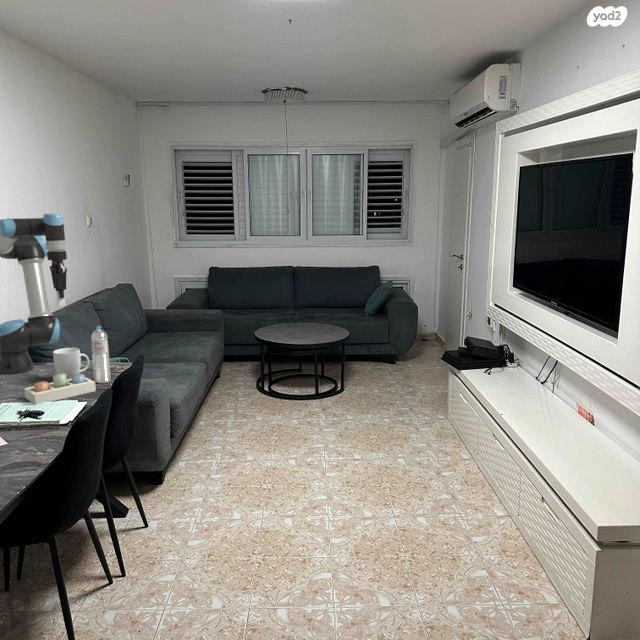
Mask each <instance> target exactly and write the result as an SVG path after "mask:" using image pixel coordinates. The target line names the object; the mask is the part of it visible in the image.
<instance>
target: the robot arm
mask: <svg viewBox="0 0 640 640" xmlns="http://www.w3.org/2000/svg"><path fill="white" fill-rule="evenodd" d="M43 237H45V238H43ZM66 250H67V245H66V234H65V221H64V216H63V214H62V213H44V214H43V217H42V218H41V217H35V218H34V217H33V218H30V217H29V218H10V217H9V218H1V219H0V258H1V259H6V260H17V263H18V264H19V265H20V266H21V267H22V272H23V278H24V279H23V280H24V283H25V284H24V285H25V290H26V295H27V303H28V308H29V309H28V310H29V315H28V317H27V321H25V319H13V320H8V321H5V322H2V323H0V374H1V375H9V374H10V375H13V374H14V375H15V374H19V373H25V372H29V371H30V370H33V369H34V363H33V360H32V359H31V356H30V355H29V352H28V347H33V346H41V345H46V344H47V345H49V344H53V343H57V341H58V340H59V339H60V331H61V325H60V321H59V319H58V318H57V317H55V315H54V314H53V312H50V305H49V300H48V294H47V287H46V281H45V276H44V270H43V265H42V264H43V263H44V262H45V258H46V257H47V260H48V261H51V265H50V266H49V270H50V274H51V279H52V285H53V289H55V292H56V301H57V302H56V304H57V307H63V306H66V298H65V290H67V272H68V268H67V267H65V264H64V260H67V259H68V258H67V257H68V255H67V251H66Z"/></svg>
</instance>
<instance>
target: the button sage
mask: <svg viewBox="0 0 640 640" xmlns="http://www.w3.org/2000/svg"><path fill="white" fill-rule="evenodd" d="M52 381H53V384H54V388H60V387H65V386H67V380H66V374H64V373H59V374H57V373H55V374H52Z"/></svg>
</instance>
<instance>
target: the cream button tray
mask: <svg viewBox="0 0 640 640" xmlns="http://www.w3.org/2000/svg"><path fill="white" fill-rule="evenodd" d="M96 388H97V387H96V382H95V380H91V379H90V378H88V377H86V376H85V382H83V383H78V384H72V379H67V386H65V387H60V388H54V384H53V382H49V383H48V390H46V391H41V392H37V393H36V392H35V391H34V385H33V386H29V387H25V388H23V389H24V398H25V399H26V400H28V401H29V402H31V403H32V404H34V405H36V404H37V405H40V404H39V403H42V404H44V403H43V402H46V403H50V402H54V401H59V400H62V399H67V398H71V397H75V396H76V397H77V396H81V395H84V394H89V393H94V392H96V391H97V390H96Z"/></svg>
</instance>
